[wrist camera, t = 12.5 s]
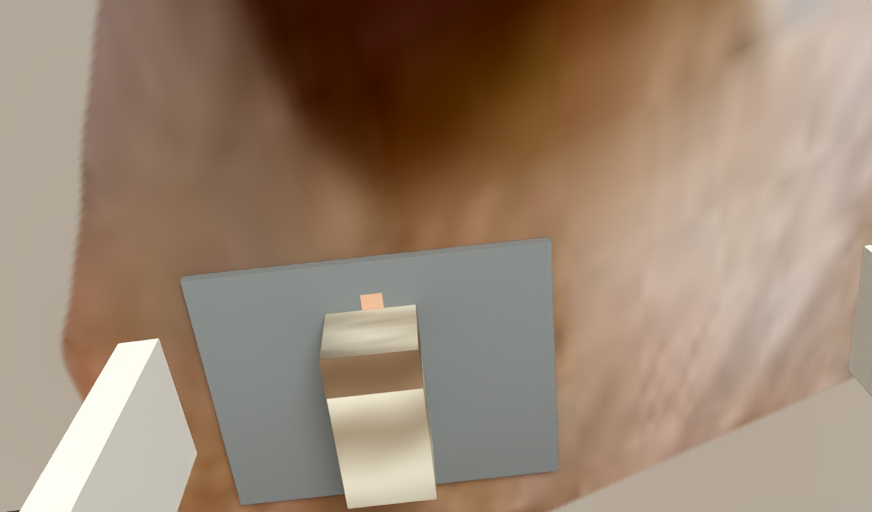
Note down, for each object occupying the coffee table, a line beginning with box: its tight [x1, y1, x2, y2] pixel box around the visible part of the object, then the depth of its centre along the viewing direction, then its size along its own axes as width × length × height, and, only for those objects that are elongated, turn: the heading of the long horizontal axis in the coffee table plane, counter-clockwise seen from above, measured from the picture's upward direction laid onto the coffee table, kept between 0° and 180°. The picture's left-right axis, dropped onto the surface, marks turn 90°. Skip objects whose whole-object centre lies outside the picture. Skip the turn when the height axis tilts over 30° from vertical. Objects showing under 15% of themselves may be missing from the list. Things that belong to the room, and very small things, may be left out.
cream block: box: [319, 304, 437, 509], centre depth 44 cm, size 10×5×4 cm, turn 5°
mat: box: [180, 237, 558, 505], centre depth 46 cm, size 20×16×1 cm
